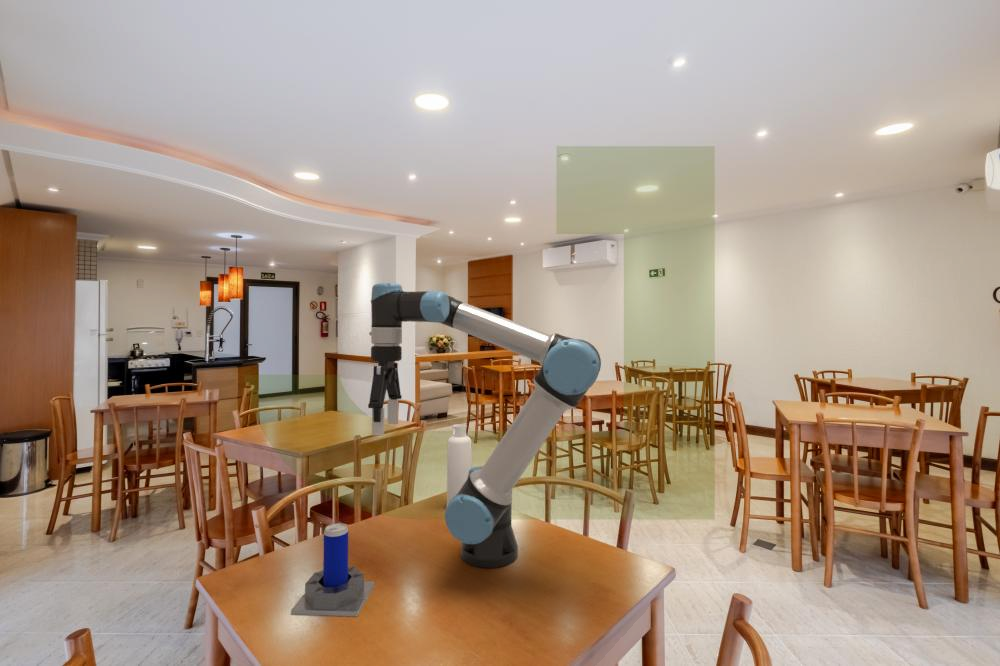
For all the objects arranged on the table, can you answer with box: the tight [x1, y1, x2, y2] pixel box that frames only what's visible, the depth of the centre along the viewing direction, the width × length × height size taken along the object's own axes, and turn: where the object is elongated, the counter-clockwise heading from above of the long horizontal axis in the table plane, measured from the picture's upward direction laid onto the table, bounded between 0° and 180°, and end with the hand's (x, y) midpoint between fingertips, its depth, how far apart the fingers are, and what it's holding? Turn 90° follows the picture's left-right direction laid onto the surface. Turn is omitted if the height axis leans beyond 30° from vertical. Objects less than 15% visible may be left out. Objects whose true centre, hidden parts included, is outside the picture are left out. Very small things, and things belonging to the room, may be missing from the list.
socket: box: [290, 566, 375, 617], centre depth 106 cm, size 14×12×4 cm
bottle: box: [446, 423, 472, 507], centre depth 160 cm, size 8×8×28 cm
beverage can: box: [322, 522, 349, 587], centre depth 106 cm, size 5×5×15 cm
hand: (385, 429), depth 120 cm, fingers open, 13 cm apart
